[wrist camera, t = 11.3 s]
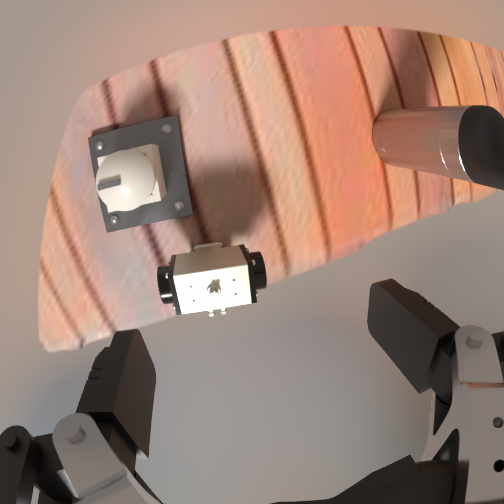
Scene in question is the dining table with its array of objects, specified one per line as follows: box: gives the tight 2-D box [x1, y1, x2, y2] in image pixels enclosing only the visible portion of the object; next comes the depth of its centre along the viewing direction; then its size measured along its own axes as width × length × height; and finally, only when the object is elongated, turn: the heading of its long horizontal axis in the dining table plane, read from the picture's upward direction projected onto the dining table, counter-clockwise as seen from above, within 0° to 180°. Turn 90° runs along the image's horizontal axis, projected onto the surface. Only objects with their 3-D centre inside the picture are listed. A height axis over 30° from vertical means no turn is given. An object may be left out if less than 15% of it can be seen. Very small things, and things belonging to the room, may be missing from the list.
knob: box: [96, 144, 167, 213], centre depth 29 cm, size 6×6×8 cm
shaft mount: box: [88, 115, 193, 233], centre depth 31 cm, size 12×13×6 cm
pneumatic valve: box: [157, 242, 267, 316], centre depth 34 cm, size 6×12×12 cm, turn 95°
